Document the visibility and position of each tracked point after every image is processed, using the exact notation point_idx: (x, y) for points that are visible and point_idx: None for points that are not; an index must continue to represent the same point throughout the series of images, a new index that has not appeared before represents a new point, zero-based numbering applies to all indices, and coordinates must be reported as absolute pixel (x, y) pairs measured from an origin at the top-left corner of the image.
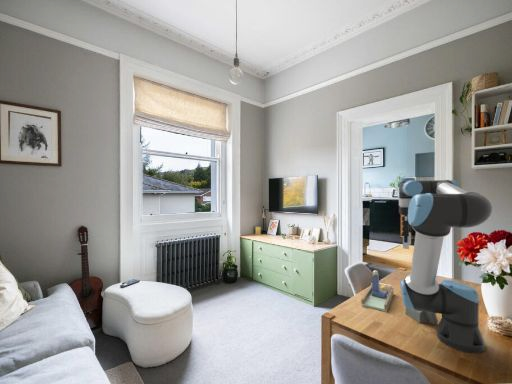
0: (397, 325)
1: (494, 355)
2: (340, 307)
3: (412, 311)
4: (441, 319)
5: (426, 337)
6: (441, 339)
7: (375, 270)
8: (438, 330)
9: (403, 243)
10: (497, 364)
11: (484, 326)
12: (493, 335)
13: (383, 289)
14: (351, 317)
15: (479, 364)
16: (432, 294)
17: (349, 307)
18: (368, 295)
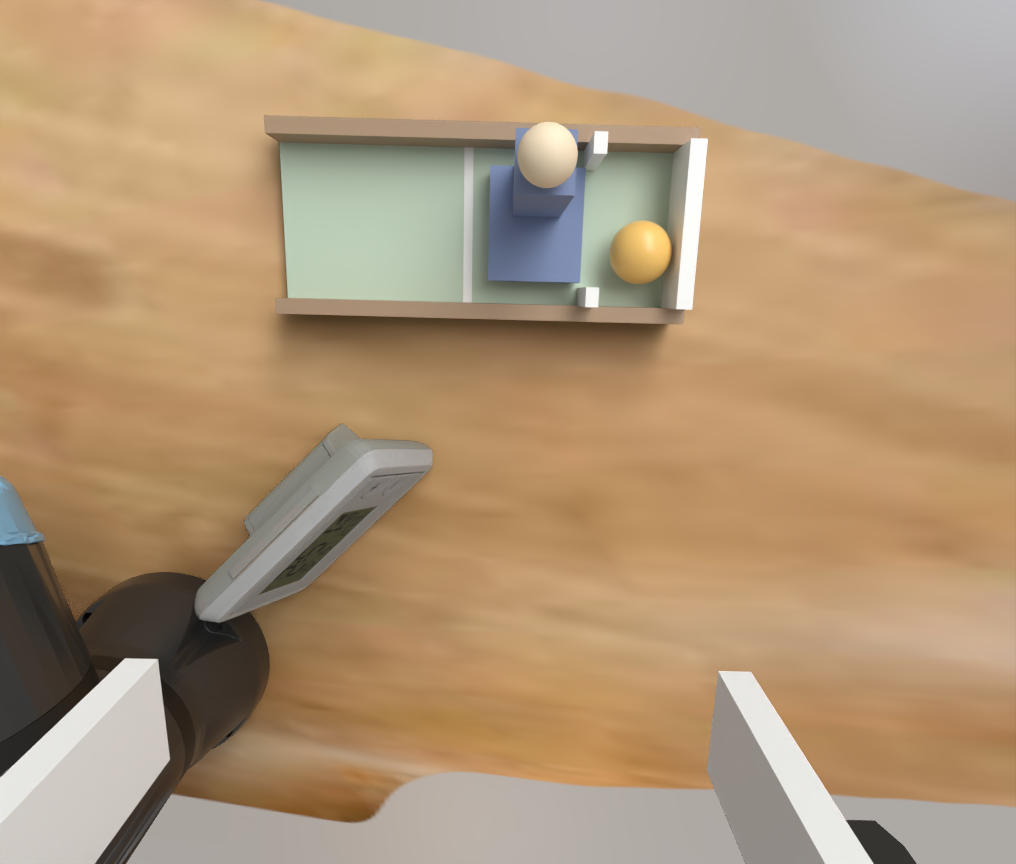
0: (141, 390)
1: None
2: None
3: (288, 474)
4: (104, 642)
5: (108, 528)
6: (105, 593)
7: (545, 148)
8: (118, 597)
9: (39, 753)
10: None
11: (436, 767)
12: (351, 783)
13: (611, 250)
14: (40, 106)
15: None
16: None
17: (189, 50)
18: (472, 146)
